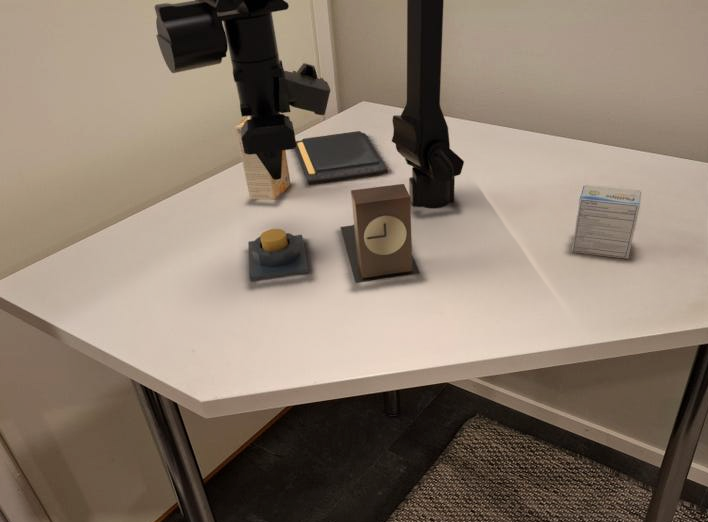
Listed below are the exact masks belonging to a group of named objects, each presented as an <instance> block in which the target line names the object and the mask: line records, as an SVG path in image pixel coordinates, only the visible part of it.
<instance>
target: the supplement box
mask: <svg viewBox="0 0 708 522" xmlns="http://www.w3.org/2000/svg"><path fill="white" fill-rule="evenodd" d="M279 114H281V113H280V112H279ZM248 119H250V117H249V116H245V118H244V119H243V120H241V121H240V122H239V123H238V124H236V126H235V132H236V138H237V143H238V147H239V152H240V156H241V162H242V167H243V171H244V177H245V182H246V186H247V193H248V197H249V200H265V201H267V200H268V201H275V200H276V199H277V198H278V197H279V195H280V194H284V192H286V190H287V189H288V188H289V187H290V186H291V183H292V182H291V177H290V171H289V164H288V157H287V152H286V151H287V150H282V172H281V179H277V180H274V179H273V178H272V177H271V175H270V174H269V172H268V171H267V169H266V168H265V166H264V165H263V164H262V162H261V161H260V159H259V158H258V156H257V155H256V154H251V155H249V154H245V153H244V148H243V143H242V139H241V127H242V126H243V125H244V122H245V121H246V120H248Z"/></svg>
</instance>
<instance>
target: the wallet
mask: <svg viewBox="0 0 708 522" xmlns="http://www.w3.org/2000/svg"><path fill="white" fill-rule="evenodd" d="M296 146H297V147H296V148H294V149H293V150H294V151H295V153H296V156H297V158H298V161H299V163H300V166H301V169H302V171H303V173H304V177H305V179H306V181H307V185H309V186H310V185H316V184H317V185H318V184H327V183H334V182H341V181H347V180H354V179H362V178H369V177H376V176H382V175H384V174H388V172H389V169H388V167H387V165H386V164H385V161H383V159H382V157H381V156H380V154H379V153H378V152H377V149H376V148H375V147H374V145H373V143H372V141H371V140H370V138H369V136H368V135H367V134H366V133H365V132H362V131H360V130H356V131H350V132H341V133H336V134H335V133H334V134H327V135H320V136H313V137H306V138H302V139H301V140H296Z"/></svg>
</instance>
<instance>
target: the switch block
mask: <svg viewBox="0 0 708 522" xmlns="http://www.w3.org/2000/svg"><path fill="white" fill-rule="evenodd" d="M286 236H287V241H288V246H287V247H286V248H284V249H282V250H278V251H265V250H264V249H263V248H262V243H261V238H260V236H259V237H257V238H256V239H255V240H249V241H248V242H247V243H248V244H247V245H248V247H247V248H248V274H249V276H248V277H249V281H250V282H256V281H263V280H271V279H278V278H286V277H293V276H300V275H307V274H309V268H308V262H307V256H306V252H305V251H306V250H305V243H304V238H303V234H295V235H294V234H292V233H289V232H286Z"/></svg>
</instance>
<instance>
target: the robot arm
mask: <svg viewBox="0 0 708 522" xmlns="http://www.w3.org/2000/svg"><path fill="white" fill-rule="evenodd" d="M444 1H445V0H407V1H406V8H407V9H406V103H405V106H404V108H403V110H402V112H401V114H400V115H399V114H398V115H393V116H392V120H391V121H392V127H393V128H392V129H393V135H392V138H391V142H392V143H394V144H395V149H396V151H397V153H398V154H399V155H400V156H402V158H404V159H405V163H406V164H407V165H408V166H410V167H411V175H412V176H410V177H409V179H408V184H409V185H408V188H409V189H408V190H409V191H408V193H409V196H410V205H411V206H412V207H414V208H426V209H440V208H441V209H442V208H444V207H446V206H448V205H449V204H453V203H455V184H456V183H455V182H456V181H455V179H456V177H458V176H460V175H461V173H462V172H463V168H464V164H465V161H464V159H462V158H461V157H460V156H459V155H458V154H457V153H456V152H455V151H454V150H452V149H451V143H450V136H449V135H450V134H449V126H448V123H447V121H446V118H445V115H444V113H443V110H442V108H441V107H442V106H441V84H442V83H441V81H442V57H443V54H442V53H443V29H444V28H443V27H444V3H445V2H444ZM289 8H290V7H289V2H287V1H286V0H190V1H183V2H177V3H170V2H169V3H168V2H165V3H164V2H163V3H159V4H155V5H154V11H155V14H156V15H155V16H156V20H155V23H156V30H157V34H156V39H157V44H158V46H159V49H160V52H161V55H162V58H163V60H164V62H165V64H166V67H167V68H168V70H169V71H170V72H171V73H172V74H176V73H181V72H186V71H191V70H196V69H201V68H205V67H210V66H214V65H220V64H221V63H223V58H227V52H228V51H229V58H230V61H231V67H232V76H233V81H234V83H235V85H236V90H237V95H238V100H239V110H240V115H241V117H247V116H249V117H250V119H248V120H246V121H245V122H244V125H243V126H242V127H241V139H242V143H243V148H244V153H245V154H249V155H251V154H256V155H257V156H258V158H259V159H260V161H261V162H262V164H263V165H264V166H265V168H266V169H267V171H268V172H269V174H270V175H271V177H272V178H273V179H274V180H277V179H281V172H282V150H286V151H289V150H295V149H294V148H296V147H297V146H296V141H297V140H296V134H295V133H296V132H295V128H294V125H293V121H291V119H290V116H288V115H286V114H287V113H291V107H292V108H296V109H300V110H303V111H308V112H312V113H314V114H315V115H317V116H325V115H326V112H327V109H328V108H327V107H328V103H329V99H330V93H331V87H330V85H329V83H328V81H326V80H324V78H323V77H320V78H318V74H317V69H316V67H315V65H312V64H310V63H305V62H304V63H302V65H300V67H299V68H298V70H297V71H296V70H292V71H289V70H285V68H284V66H283V60H282V59H280V55H279V49H278V43H277V37H276V30H275V24H274V18H273V13H275V12H281V11H287V10H288V9H289ZM279 112H280V114H279Z"/></svg>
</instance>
